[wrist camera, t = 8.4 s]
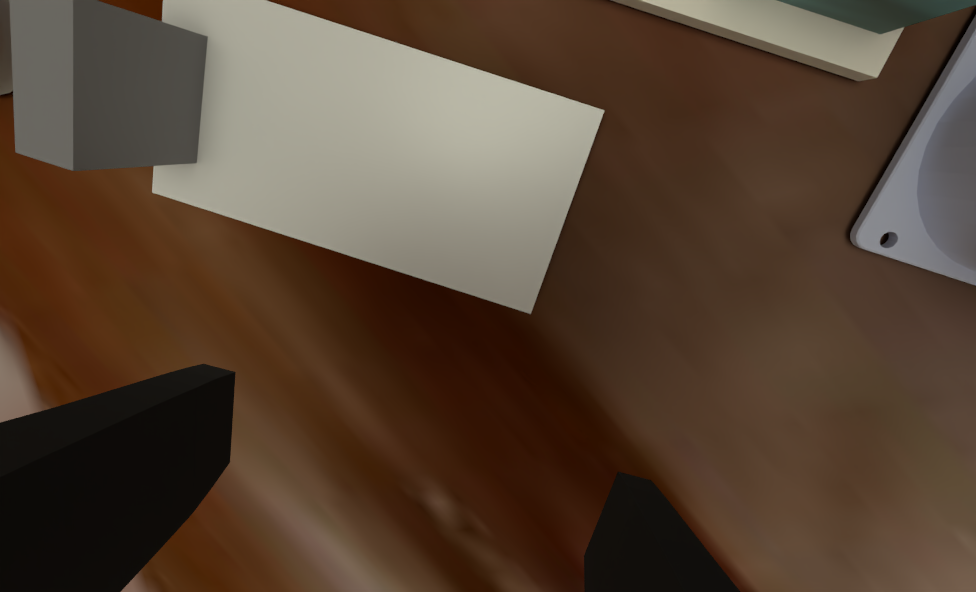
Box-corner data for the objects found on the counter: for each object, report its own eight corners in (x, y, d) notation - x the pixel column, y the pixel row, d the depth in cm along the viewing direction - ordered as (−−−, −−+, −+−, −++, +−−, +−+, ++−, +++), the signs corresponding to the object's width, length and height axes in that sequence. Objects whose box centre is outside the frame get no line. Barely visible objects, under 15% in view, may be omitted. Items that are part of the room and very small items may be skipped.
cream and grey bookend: (601, 111, 15) (635, 96, 10) (530, 306, 17) (529, 374, 12) (183, -24, 15) (5, -109, 10) (169, 190, 17) (17, 209, 12)
